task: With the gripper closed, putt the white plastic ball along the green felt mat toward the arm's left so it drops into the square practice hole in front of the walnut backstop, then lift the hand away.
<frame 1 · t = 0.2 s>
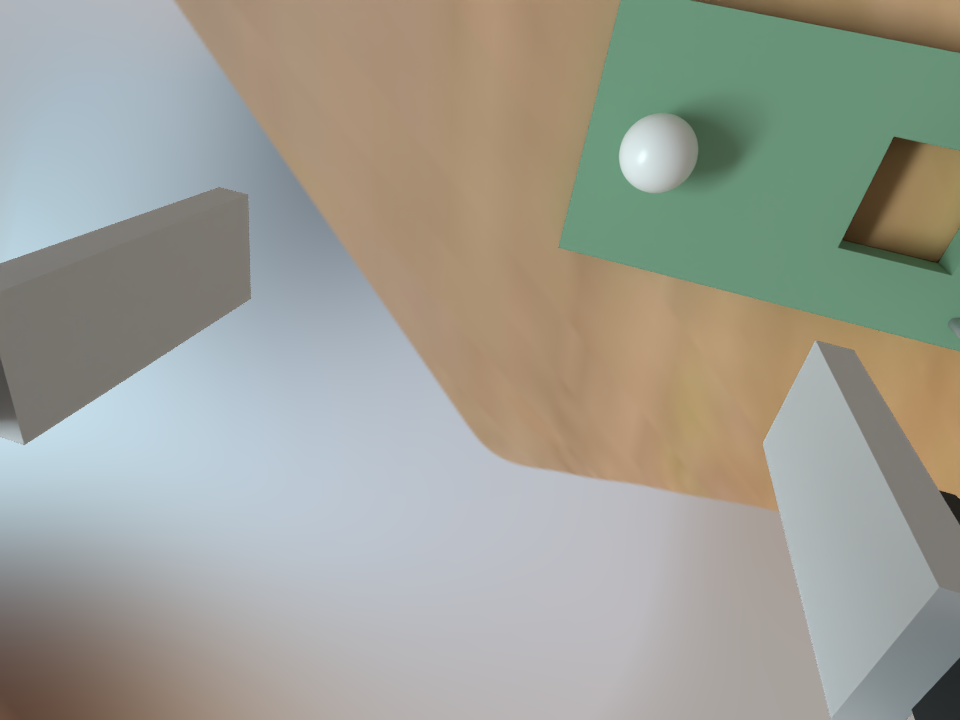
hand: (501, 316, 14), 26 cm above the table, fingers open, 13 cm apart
green: (817, 177, 34), on the table
ball: (657, 153, 32), point 4 cm above the table, touching green
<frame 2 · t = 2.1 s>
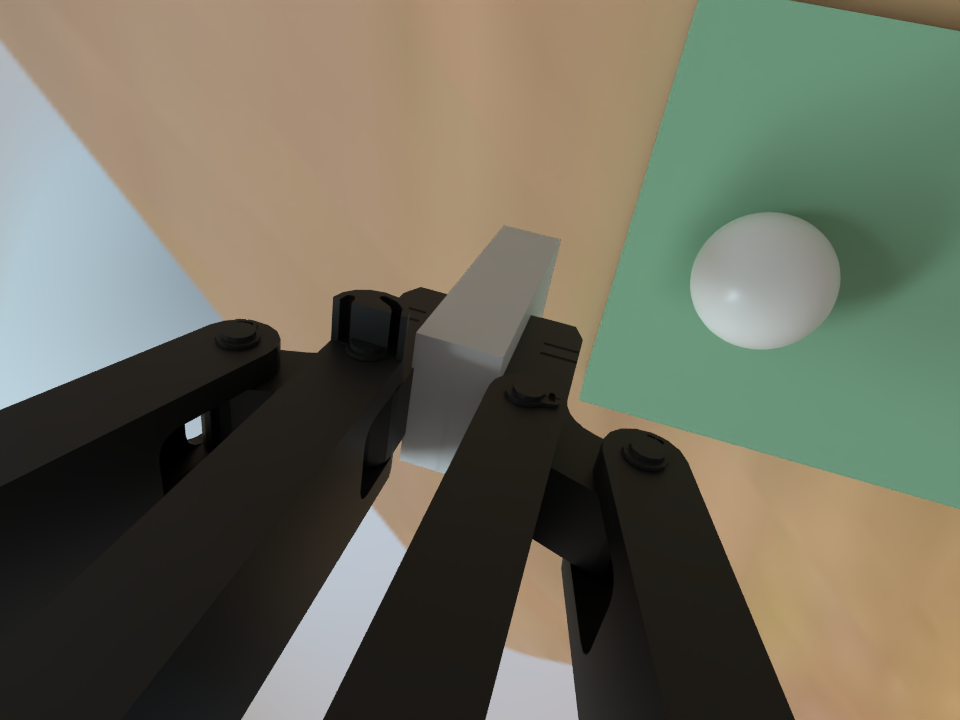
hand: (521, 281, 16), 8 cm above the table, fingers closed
ball: (761, 281, 18), point 4 cm above the table, touching green
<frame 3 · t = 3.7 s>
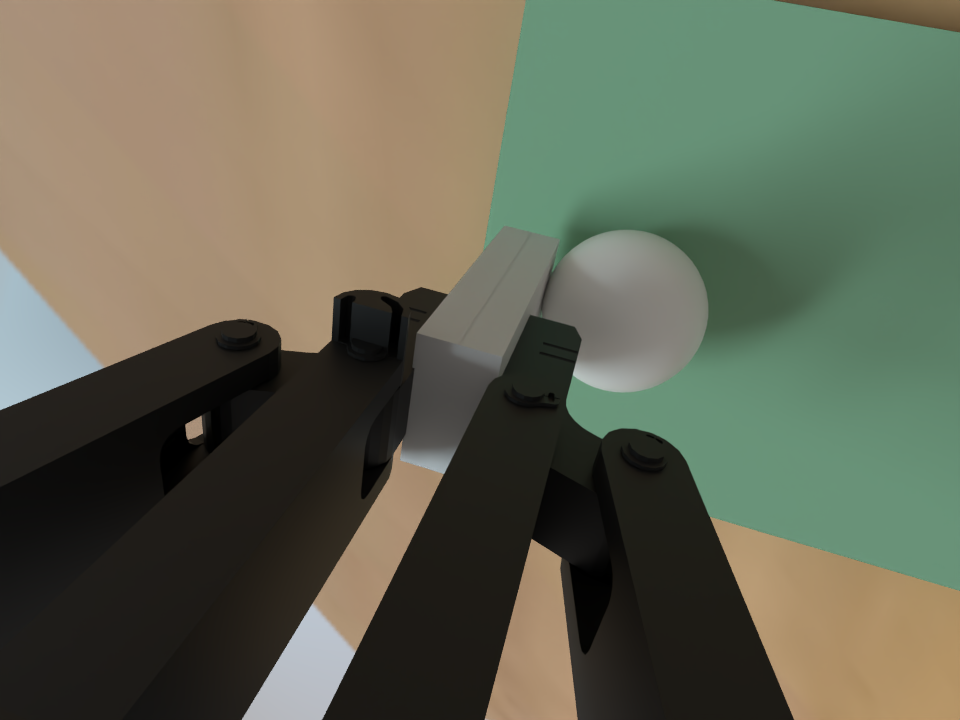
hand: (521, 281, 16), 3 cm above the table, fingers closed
green: (940, 334, 17), on the table
ball: (622, 311, 15), point 4 cm above the table, touching green, gripper
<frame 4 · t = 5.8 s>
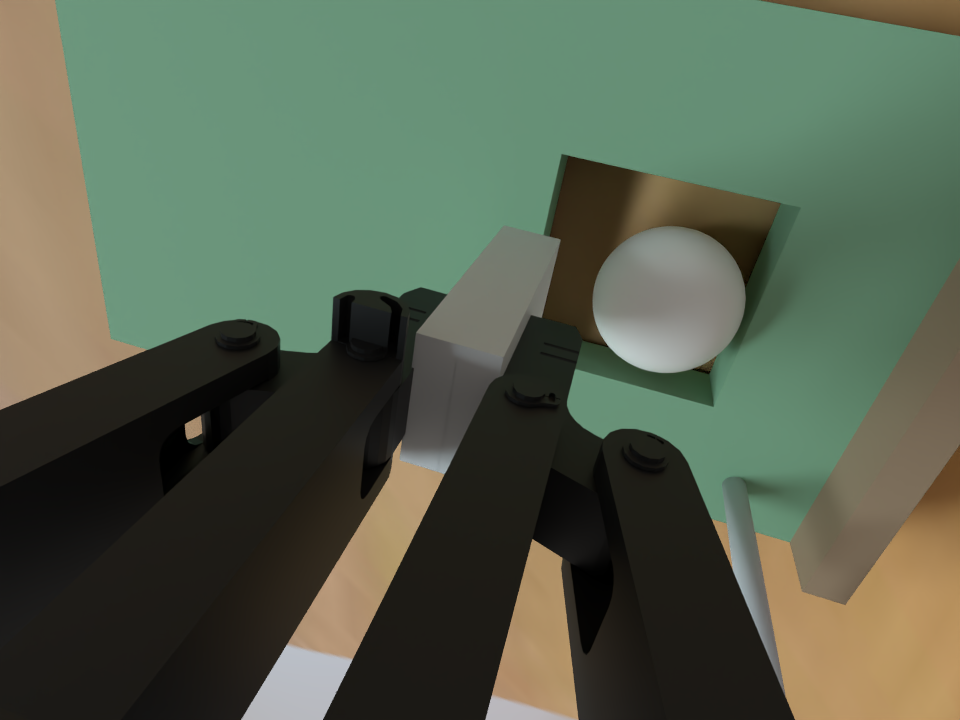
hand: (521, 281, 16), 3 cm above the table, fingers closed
green: (486, 226, 19), on the table
ball: (666, 300, 17), point 2 cm above the table, tilted 42°
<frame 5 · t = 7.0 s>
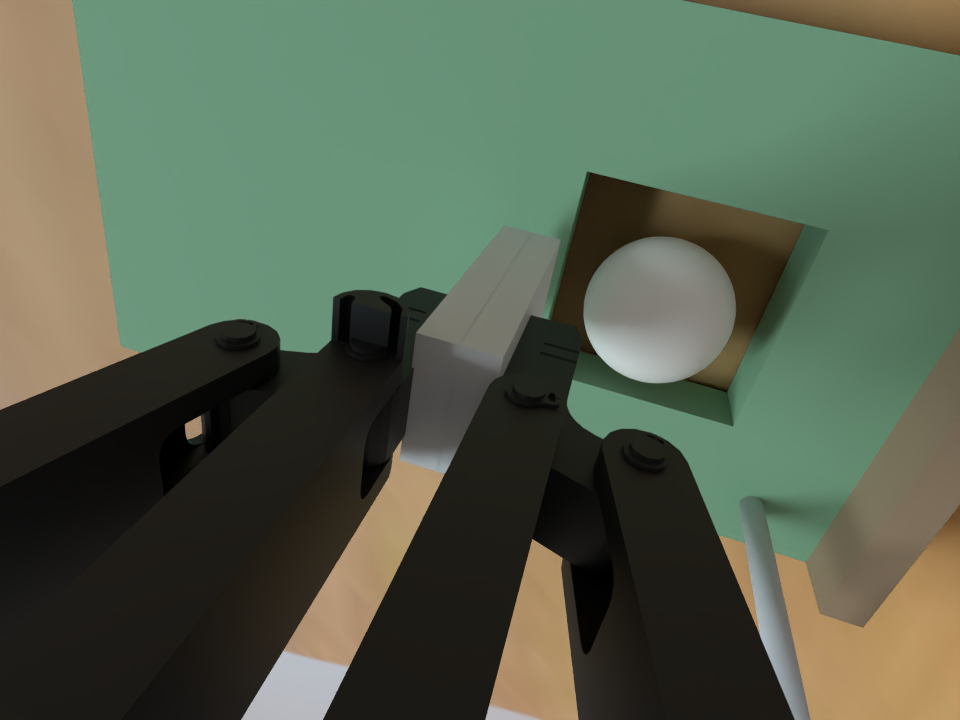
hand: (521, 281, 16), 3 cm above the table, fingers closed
green: (505, 240, 19), on the table
ball: (657, 310, 17), point 2 cm above the table, tilted 17°
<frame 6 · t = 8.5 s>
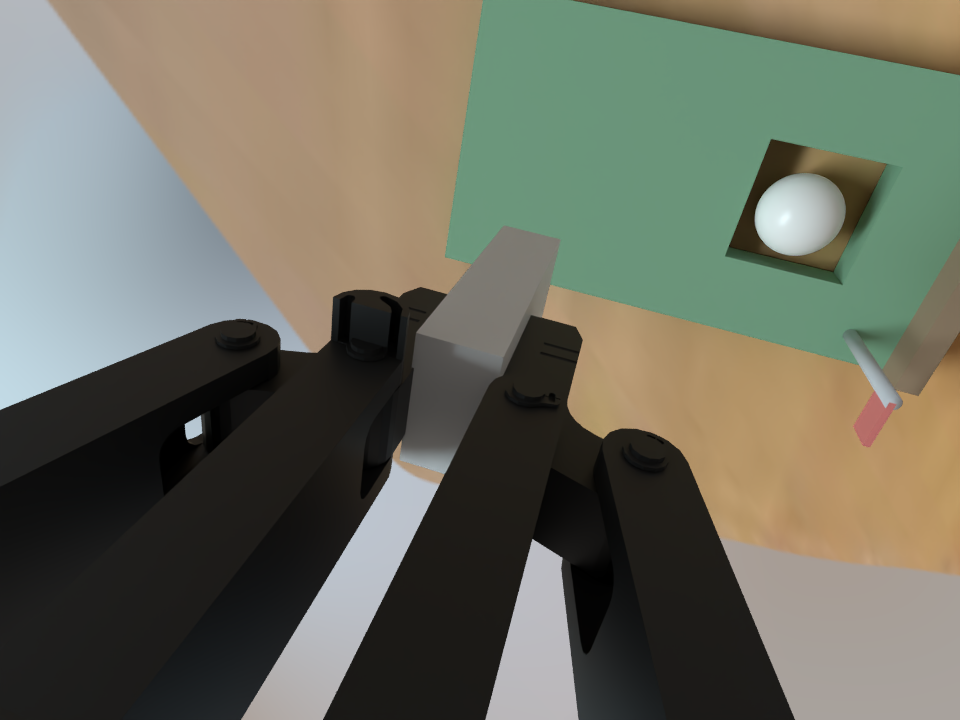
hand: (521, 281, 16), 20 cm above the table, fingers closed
green: (704, 183, 33), on the table
ball: (798, 215, 30), point 2 cm above the table, tilted 10°
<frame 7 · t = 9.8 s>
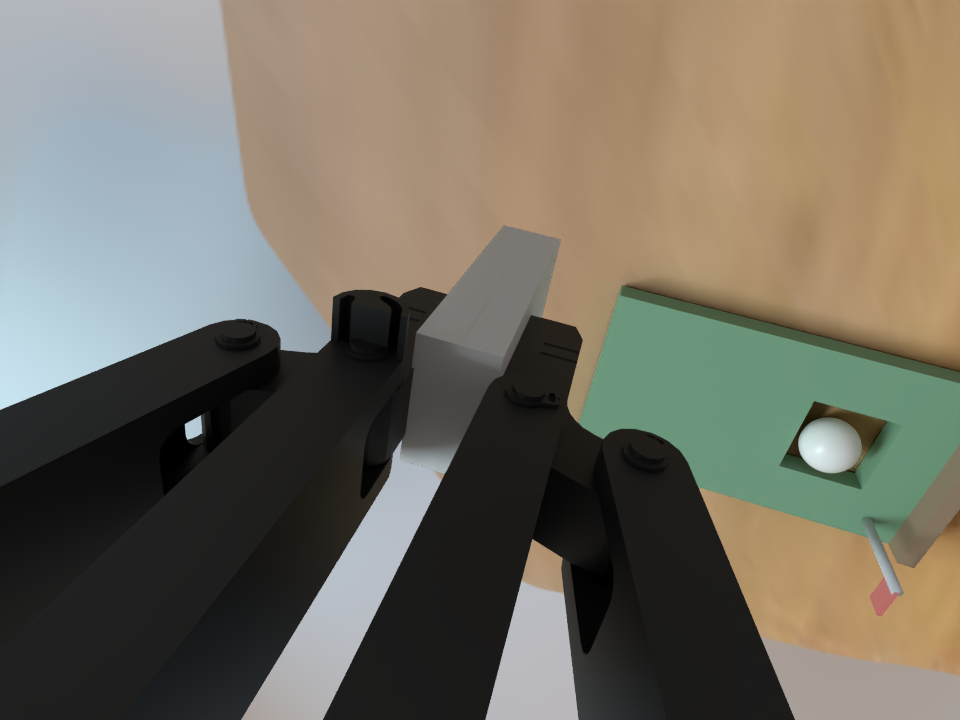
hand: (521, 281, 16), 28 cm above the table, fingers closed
green: (764, 412, 46), on the table
ball: (829, 445, 44), point 2 cm above the table
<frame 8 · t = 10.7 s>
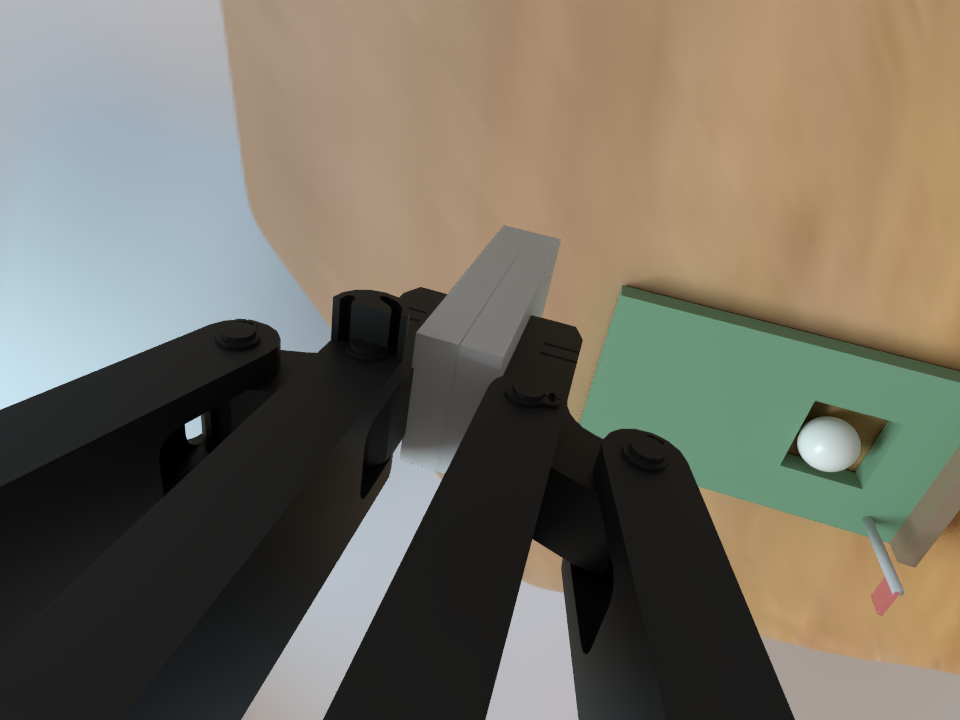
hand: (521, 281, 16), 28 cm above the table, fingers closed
green: (764, 411, 46), on the table
ball: (828, 443, 44), point 2 cm above the table
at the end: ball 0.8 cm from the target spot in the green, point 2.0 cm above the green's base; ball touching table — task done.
